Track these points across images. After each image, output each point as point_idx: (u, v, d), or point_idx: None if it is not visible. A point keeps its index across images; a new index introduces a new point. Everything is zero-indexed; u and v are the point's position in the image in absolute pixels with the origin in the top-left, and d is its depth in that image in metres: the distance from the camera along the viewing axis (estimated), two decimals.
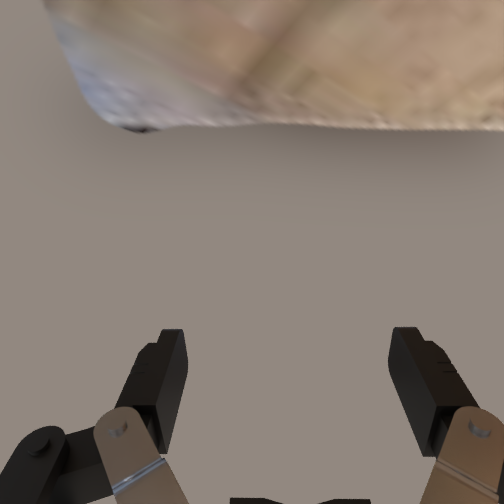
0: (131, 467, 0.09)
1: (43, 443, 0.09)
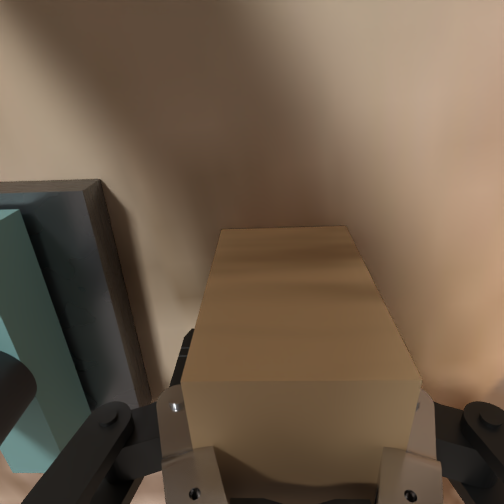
0: (182, 443, 0.09)
1: (111, 417, 0.10)
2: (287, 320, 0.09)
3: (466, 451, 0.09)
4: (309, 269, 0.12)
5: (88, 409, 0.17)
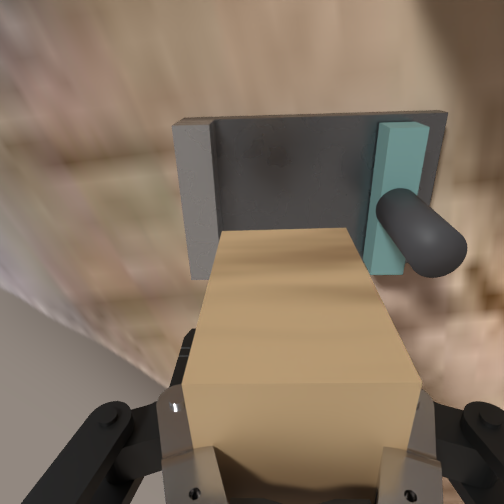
0: (182, 443, 0.09)
1: (111, 417, 0.10)
2: (287, 323, 0.09)
3: (466, 451, 0.09)
4: (309, 272, 0.12)
5: None
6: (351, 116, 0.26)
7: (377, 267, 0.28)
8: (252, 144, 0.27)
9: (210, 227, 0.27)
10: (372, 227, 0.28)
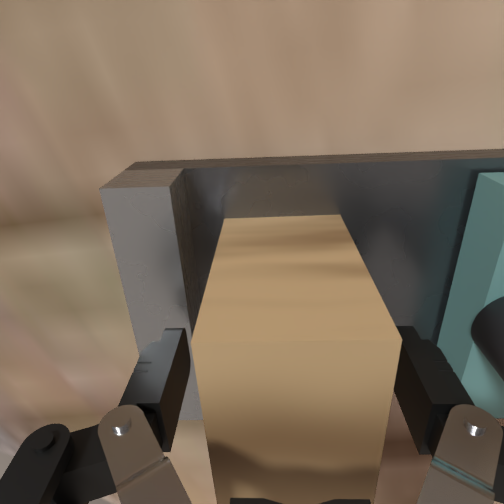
0: (134, 465, 0.09)
1: (48, 441, 0.09)
2: (284, 294, 0.10)
3: None
4: (304, 252, 0.13)
5: None
6: (427, 161, 0.14)
7: None
8: (252, 208, 0.16)
9: None
10: (456, 344, 0.16)
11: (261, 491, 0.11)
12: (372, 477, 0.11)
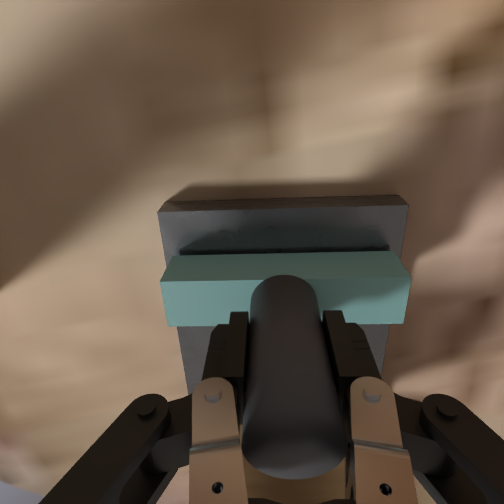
0: (212, 435, 0.09)
1: (149, 409, 0.10)
2: None
3: (423, 441, 0.10)
4: None
5: (373, 252, 0.18)
6: None
7: (389, 315, 0.17)
8: None
9: None
10: None
11: None
12: None
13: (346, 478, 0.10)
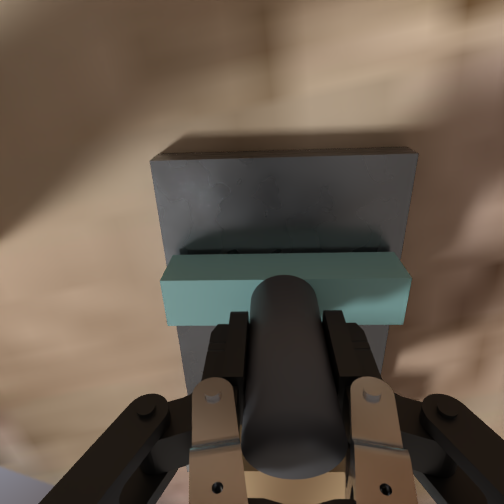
0: (212, 435, 0.09)
1: (149, 409, 0.10)
2: None
3: (423, 441, 0.10)
4: None
5: (374, 252, 0.18)
6: None
7: (389, 316, 0.17)
8: None
9: None
10: None
11: None
12: (329, 474, 0.14)
13: (346, 478, 0.10)
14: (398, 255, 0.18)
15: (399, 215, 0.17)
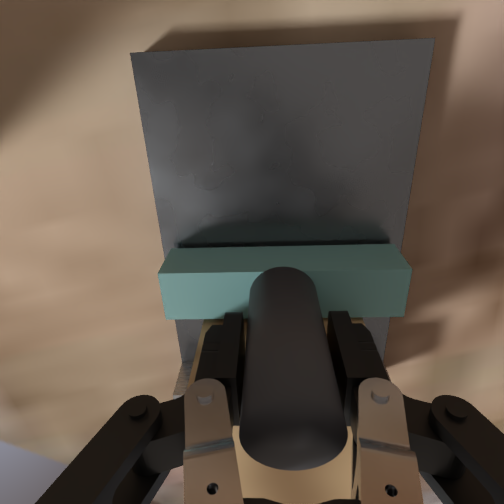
0: (205, 436, 0.09)
1: (141, 410, 0.10)
2: None
3: (432, 443, 0.10)
4: None
5: (374, 245, 0.18)
6: (157, 209, 0.18)
7: (390, 308, 0.16)
8: None
9: None
10: None
11: (348, 482, 0.14)
12: None
13: (352, 478, 0.10)
14: (411, 168, 0.16)
15: (412, 117, 0.15)
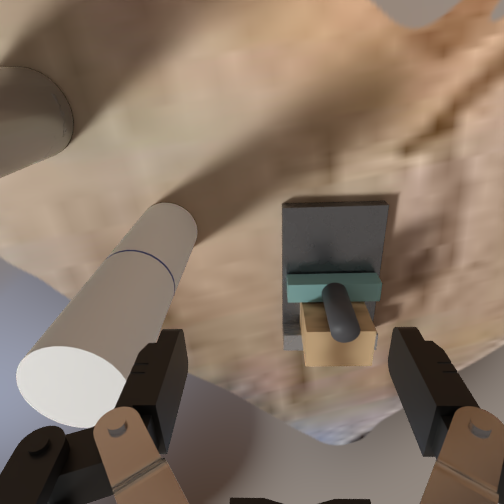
0: (131, 467, 0.09)
1: (43, 443, 0.09)
2: (304, 338, 0.43)
3: None
4: (302, 319, 0.45)
5: (368, 273, 0.45)
6: (283, 259, 0.45)
7: (374, 298, 0.43)
8: (296, 306, 0.48)
9: None
10: None
11: (359, 356, 0.41)
12: None
13: None
14: (382, 245, 0.43)
15: (382, 228, 0.42)
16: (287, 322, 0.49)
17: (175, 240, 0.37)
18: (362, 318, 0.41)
